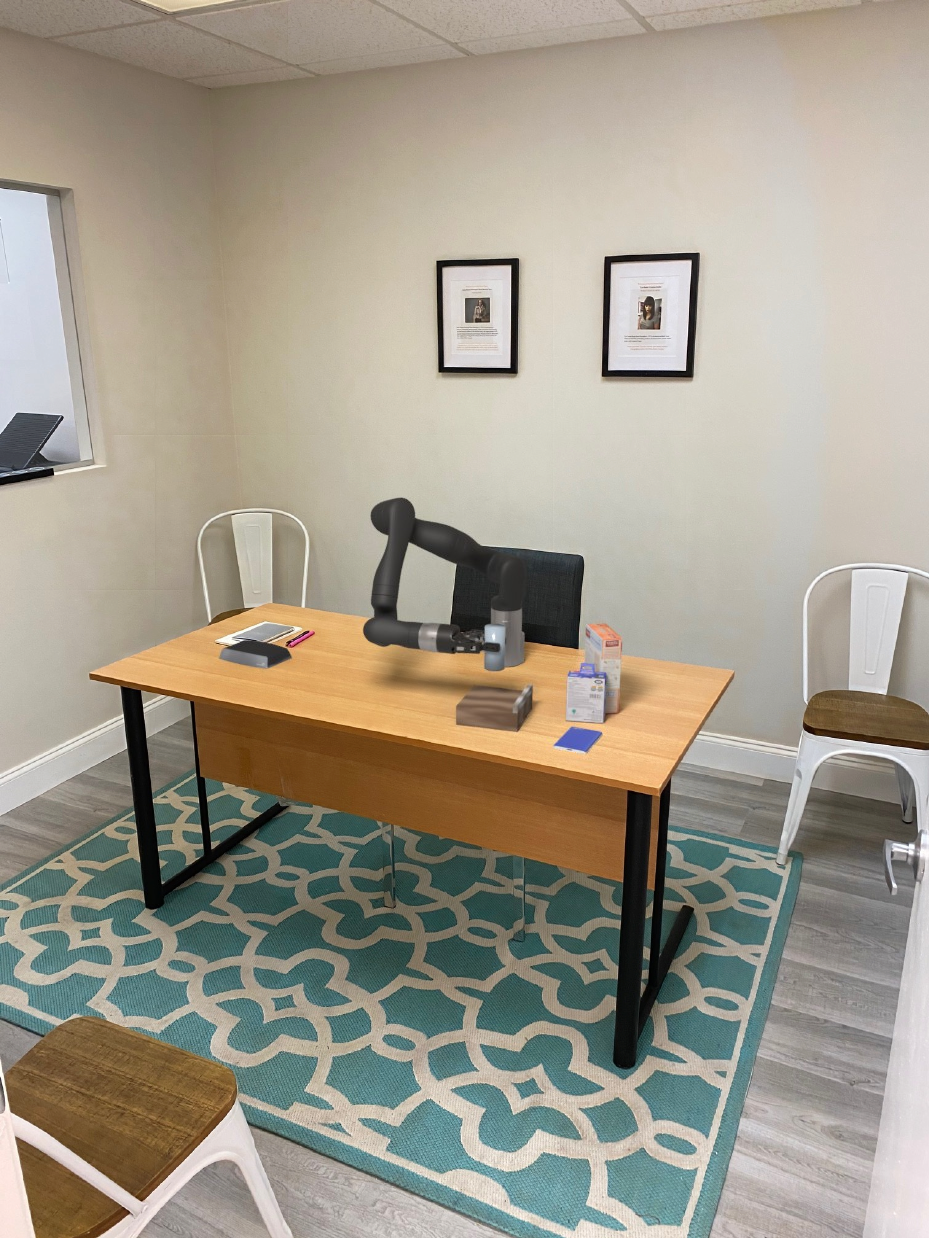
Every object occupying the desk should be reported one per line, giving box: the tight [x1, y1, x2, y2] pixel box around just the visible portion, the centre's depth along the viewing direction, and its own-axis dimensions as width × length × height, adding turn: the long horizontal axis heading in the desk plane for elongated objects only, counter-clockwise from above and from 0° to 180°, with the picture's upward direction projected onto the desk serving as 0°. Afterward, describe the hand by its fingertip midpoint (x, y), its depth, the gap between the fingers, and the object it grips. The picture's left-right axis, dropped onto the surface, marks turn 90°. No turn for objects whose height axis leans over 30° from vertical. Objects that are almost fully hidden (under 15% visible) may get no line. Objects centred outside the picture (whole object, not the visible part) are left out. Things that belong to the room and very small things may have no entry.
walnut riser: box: [455, 683, 534, 733], centre depth 242 cm, size 16×16×7 cm
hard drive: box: [552, 726, 603, 755], centre depth 227 cm, size 2×8×12 cm
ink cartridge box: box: [565, 662, 607, 724], centre depth 239 cm, size 10×6×14 cm, turn 78°
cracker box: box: [583, 622, 623, 715], centre depth 247 cm, size 14×6×21 cm, turn 9°
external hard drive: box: [218, 639, 293, 670], centre depth 288 cm, size 13×19×4 cm
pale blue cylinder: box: [483, 623, 505, 672], centre depth 237 cm, size 5×5×11 cm
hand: (502, 644), depth 236 cm, fingers closed on pale blue cylinder, 5 cm apart
